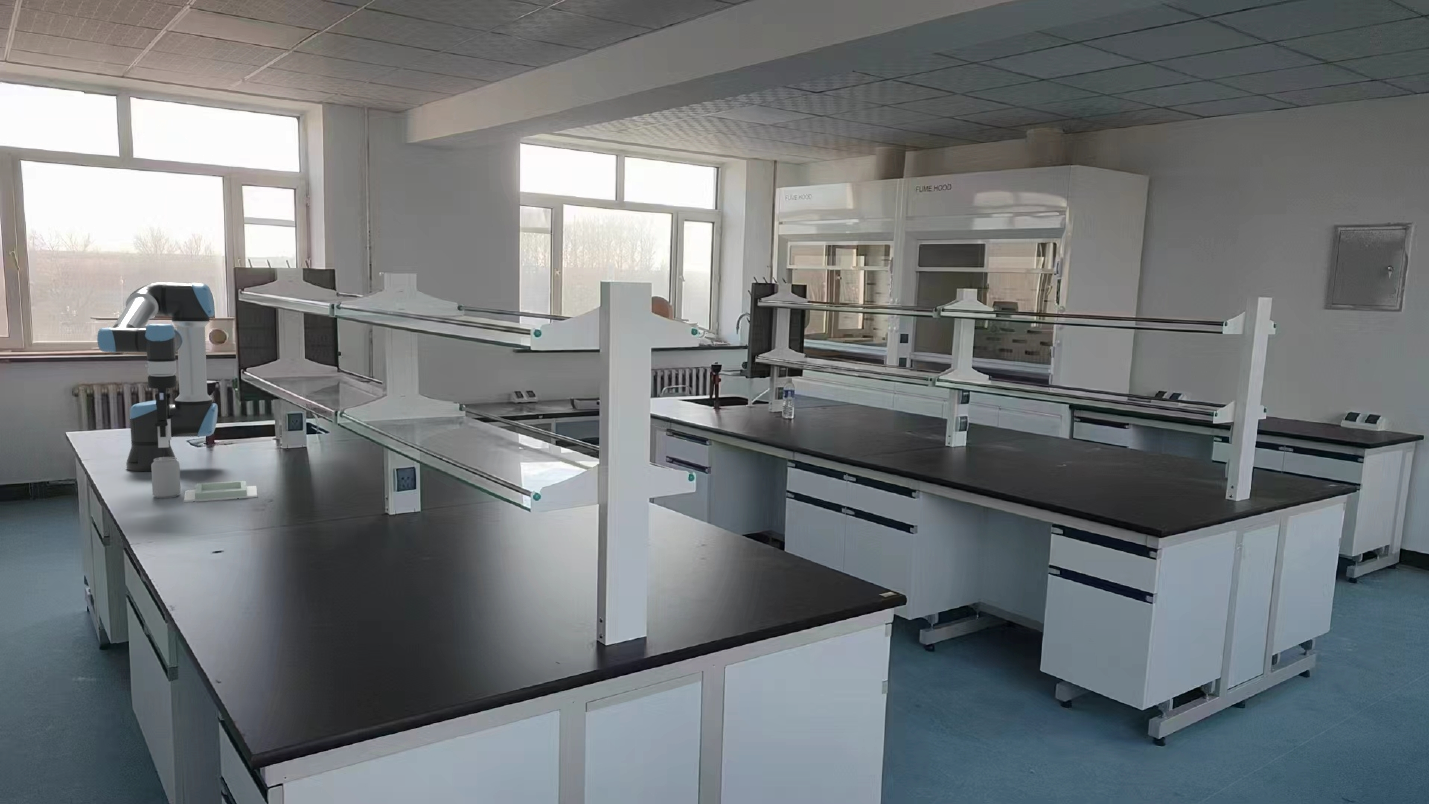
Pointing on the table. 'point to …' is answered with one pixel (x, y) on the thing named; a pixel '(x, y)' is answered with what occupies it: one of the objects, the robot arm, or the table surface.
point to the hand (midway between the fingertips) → (165, 443)
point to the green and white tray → (220, 491)
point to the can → (165, 477)
